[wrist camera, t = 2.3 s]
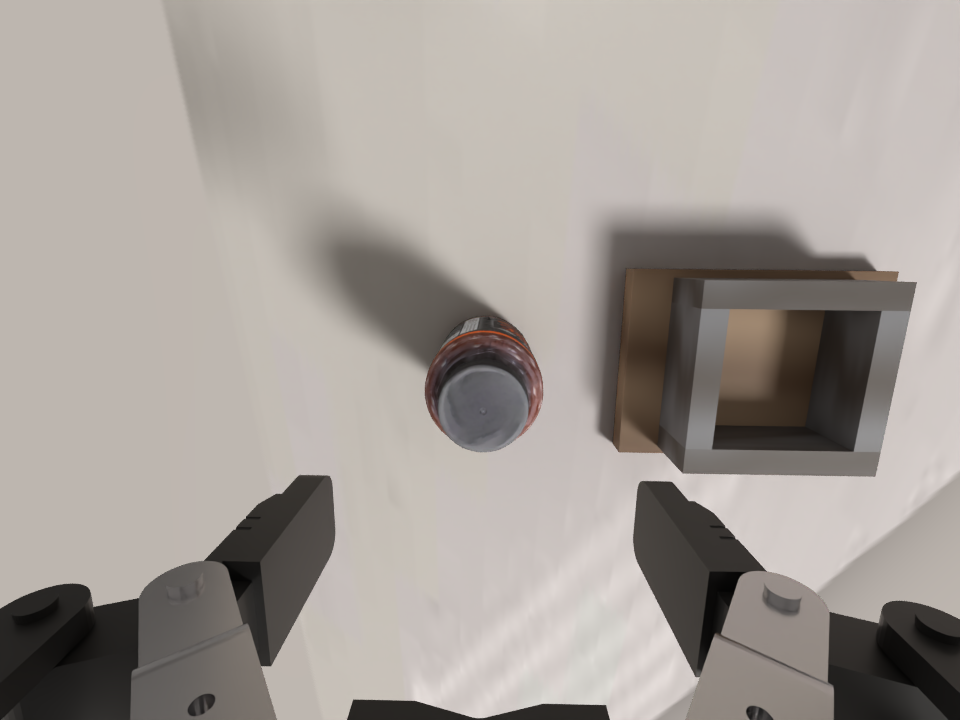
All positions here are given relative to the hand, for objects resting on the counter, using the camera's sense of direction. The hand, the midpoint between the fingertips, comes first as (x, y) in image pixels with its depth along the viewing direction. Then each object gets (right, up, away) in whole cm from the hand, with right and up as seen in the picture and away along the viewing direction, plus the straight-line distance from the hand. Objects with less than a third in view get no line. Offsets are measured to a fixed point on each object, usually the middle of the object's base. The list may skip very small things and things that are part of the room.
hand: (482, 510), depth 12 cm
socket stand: (+17, +4, +18) cm, 26 cm away
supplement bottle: (0, +4, +19) cm, 19 cm away
